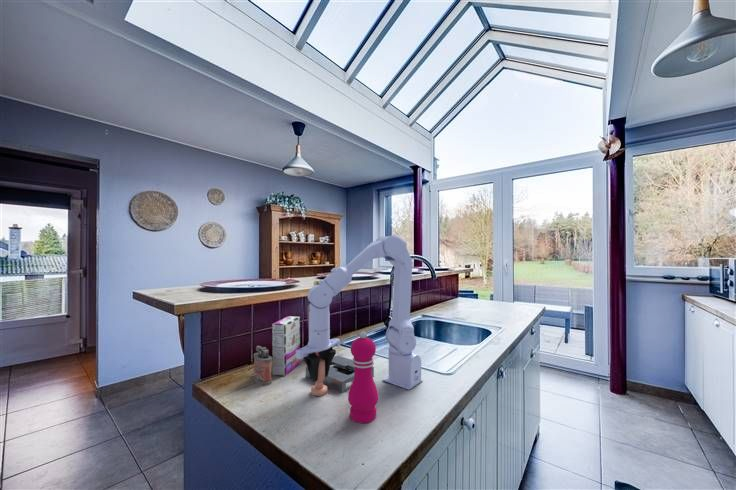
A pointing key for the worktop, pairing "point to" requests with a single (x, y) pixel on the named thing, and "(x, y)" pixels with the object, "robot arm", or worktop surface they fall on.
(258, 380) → the lighter
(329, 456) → the worktop surface
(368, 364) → the pepper mill
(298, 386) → the worktop surface
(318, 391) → the peg
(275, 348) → the candy bar box
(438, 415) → the worktop surface
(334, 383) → the keyhole plate
